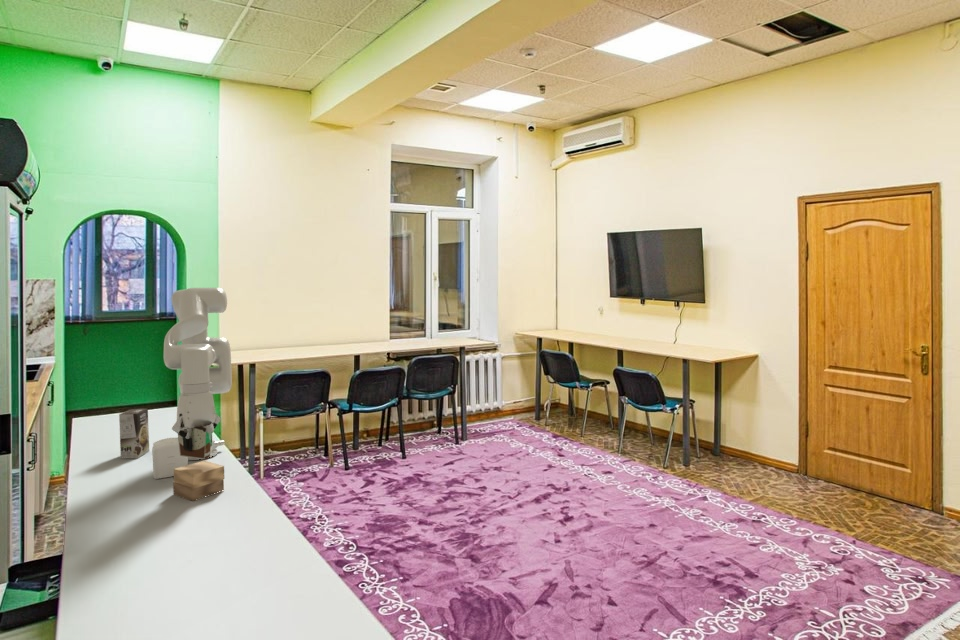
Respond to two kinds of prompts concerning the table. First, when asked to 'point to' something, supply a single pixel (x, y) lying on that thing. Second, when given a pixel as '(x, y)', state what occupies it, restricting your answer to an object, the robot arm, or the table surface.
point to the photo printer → (167, 457)
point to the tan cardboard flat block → (197, 490)
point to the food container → (198, 442)
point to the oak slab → (198, 474)
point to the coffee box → (134, 433)
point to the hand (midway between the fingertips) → (198, 447)
